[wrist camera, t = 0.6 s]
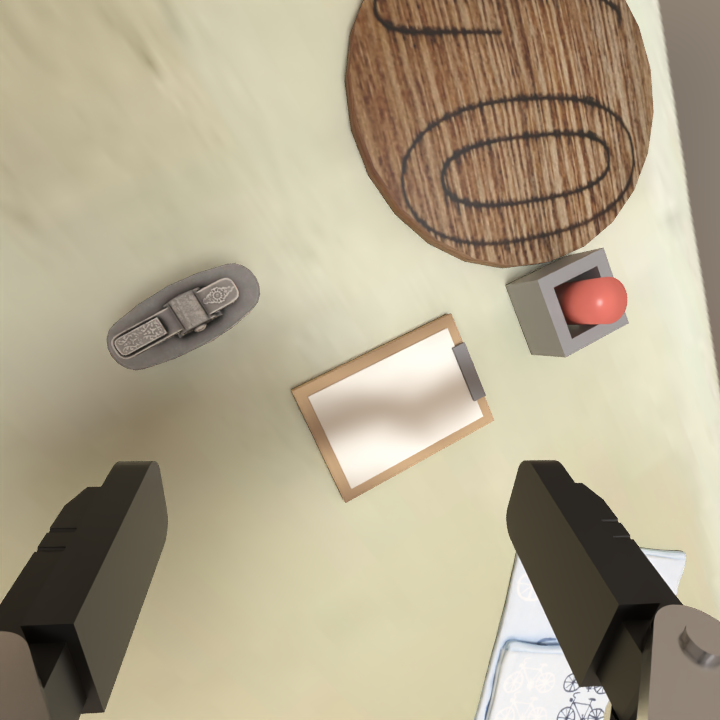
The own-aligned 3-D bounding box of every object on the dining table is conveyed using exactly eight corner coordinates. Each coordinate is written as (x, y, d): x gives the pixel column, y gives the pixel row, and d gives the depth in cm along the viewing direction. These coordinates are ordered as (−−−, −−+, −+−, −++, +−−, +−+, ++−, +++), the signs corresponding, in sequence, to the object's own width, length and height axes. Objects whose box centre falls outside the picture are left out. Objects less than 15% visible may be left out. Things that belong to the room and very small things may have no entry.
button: (542, 292, 35) (581, 288, 31) (575, 276, 36) (618, 269, 32) (556, 331, 36) (597, 331, 32) (588, 314, 36) (633, 312, 32)
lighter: (238, 267, 31) (239, 239, 22) (264, 311, 32) (276, 303, 22) (126, 327, 30) (73, 325, 20) (156, 372, 30) (119, 391, 21)
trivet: (301, -58, 31) (305, -82, 30) (602, -81, 37) (621, -102, 35) (393, 303, 35) (402, 302, 33) (657, 230, 40) (677, 226, 39)
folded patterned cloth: (460, 752, 39) (473, 775, 37) (517, 516, 39) (533, 526, 37) (638, 754, 44) (658, 775, 42) (689, 545, 44) (711, 556, 42)
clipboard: (290, 389, 33) (293, 392, 31) (446, 314, 35) (454, 313, 34) (343, 499, 34) (347, 505, 33) (488, 418, 37) (497, 421, 36)
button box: (505, 285, 37) (537, 280, 33) (565, 255, 38) (603, 247, 34) (531, 354, 38) (565, 357, 34) (589, 323, 39) (628, 323, 35)
